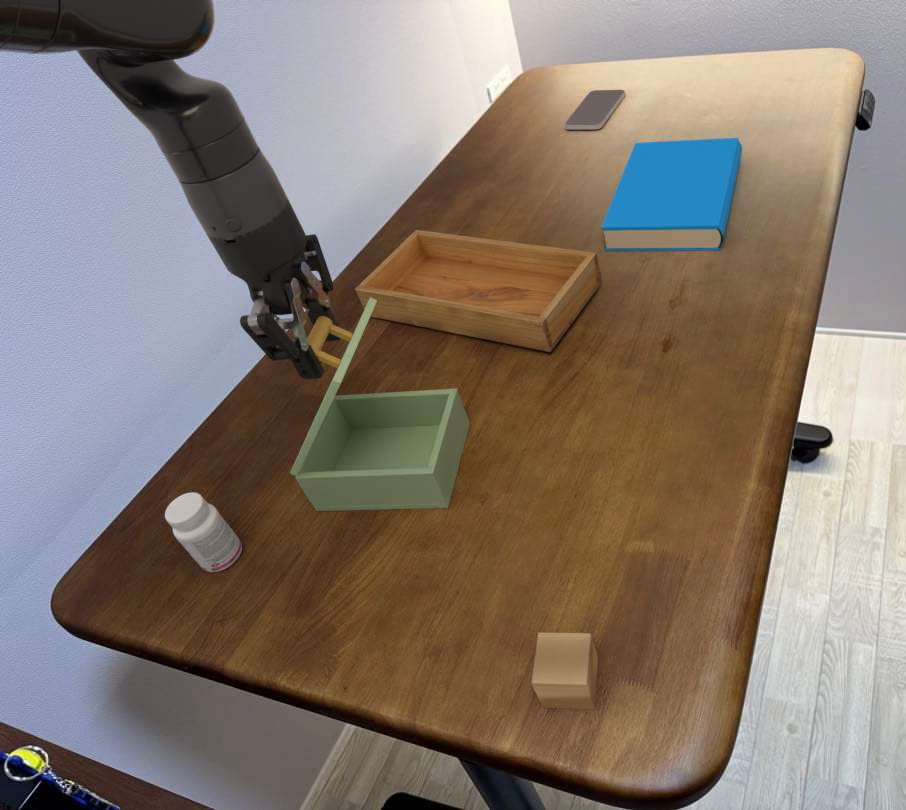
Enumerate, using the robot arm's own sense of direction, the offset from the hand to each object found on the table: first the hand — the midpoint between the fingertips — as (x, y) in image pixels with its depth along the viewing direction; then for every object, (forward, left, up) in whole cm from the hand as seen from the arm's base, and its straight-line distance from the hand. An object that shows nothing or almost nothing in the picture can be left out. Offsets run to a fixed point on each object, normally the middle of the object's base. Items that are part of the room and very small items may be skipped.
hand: (323, 356), depth 78 cm
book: (+51, -34, -17) cm, 64 cm away
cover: (0, 0, -5) cm, 5 cm away
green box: (0, -2, -17) cm, 17 cm away
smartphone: (+87, -19, -17) cm, 91 cm away
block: (-26, -25, -17) cm, 39 cm away
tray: (+30, -7, -17) cm, 35 cm away
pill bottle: (-12, +15, -17) cm, 26 cm away
